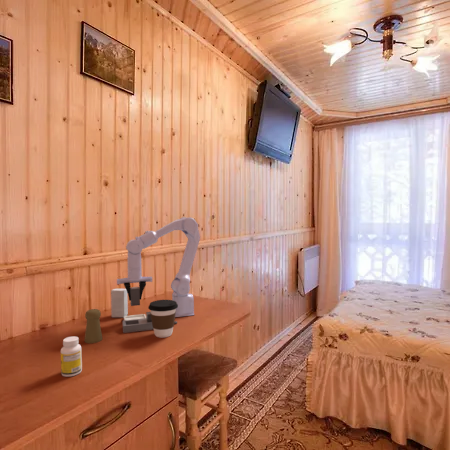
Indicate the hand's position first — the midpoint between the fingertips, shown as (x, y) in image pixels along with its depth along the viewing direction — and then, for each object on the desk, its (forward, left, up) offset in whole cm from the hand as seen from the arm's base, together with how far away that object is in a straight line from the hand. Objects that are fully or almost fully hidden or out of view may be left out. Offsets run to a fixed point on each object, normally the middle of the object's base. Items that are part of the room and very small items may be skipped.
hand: (135, 299), depth 139 cm
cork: (+16, +18, -9) cm, 25 cm away
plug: (0, 0, -2) cm, 2 cm away
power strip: (-5, +10, -9) cm, 15 cm away
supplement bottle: (+21, +42, -9) cm, 47 cm away
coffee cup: (-8, +21, -9) cm, 24 cm away
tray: (0, 0, -9) cm, 9 cm away
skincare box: (+6, -8, -9) cm, 14 cm away
